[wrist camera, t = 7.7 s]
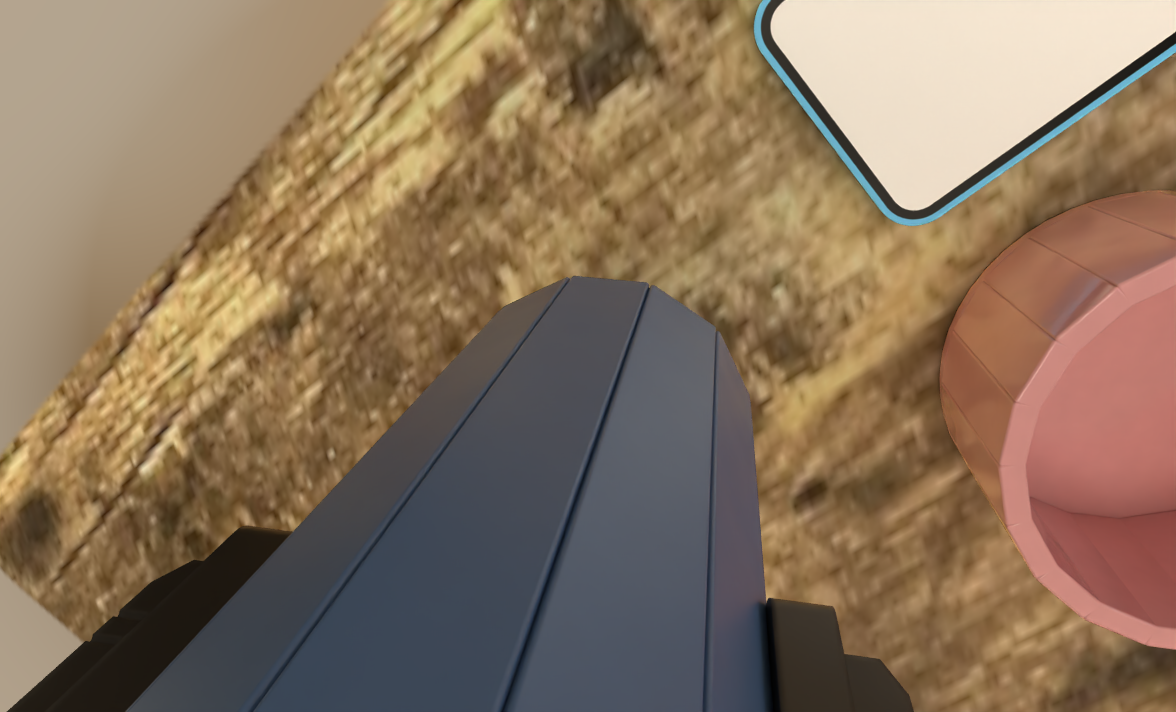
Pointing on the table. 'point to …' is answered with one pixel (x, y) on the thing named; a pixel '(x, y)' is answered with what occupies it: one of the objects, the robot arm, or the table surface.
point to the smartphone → (954, 82)
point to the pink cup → (1079, 406)
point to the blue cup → (522, 537)
